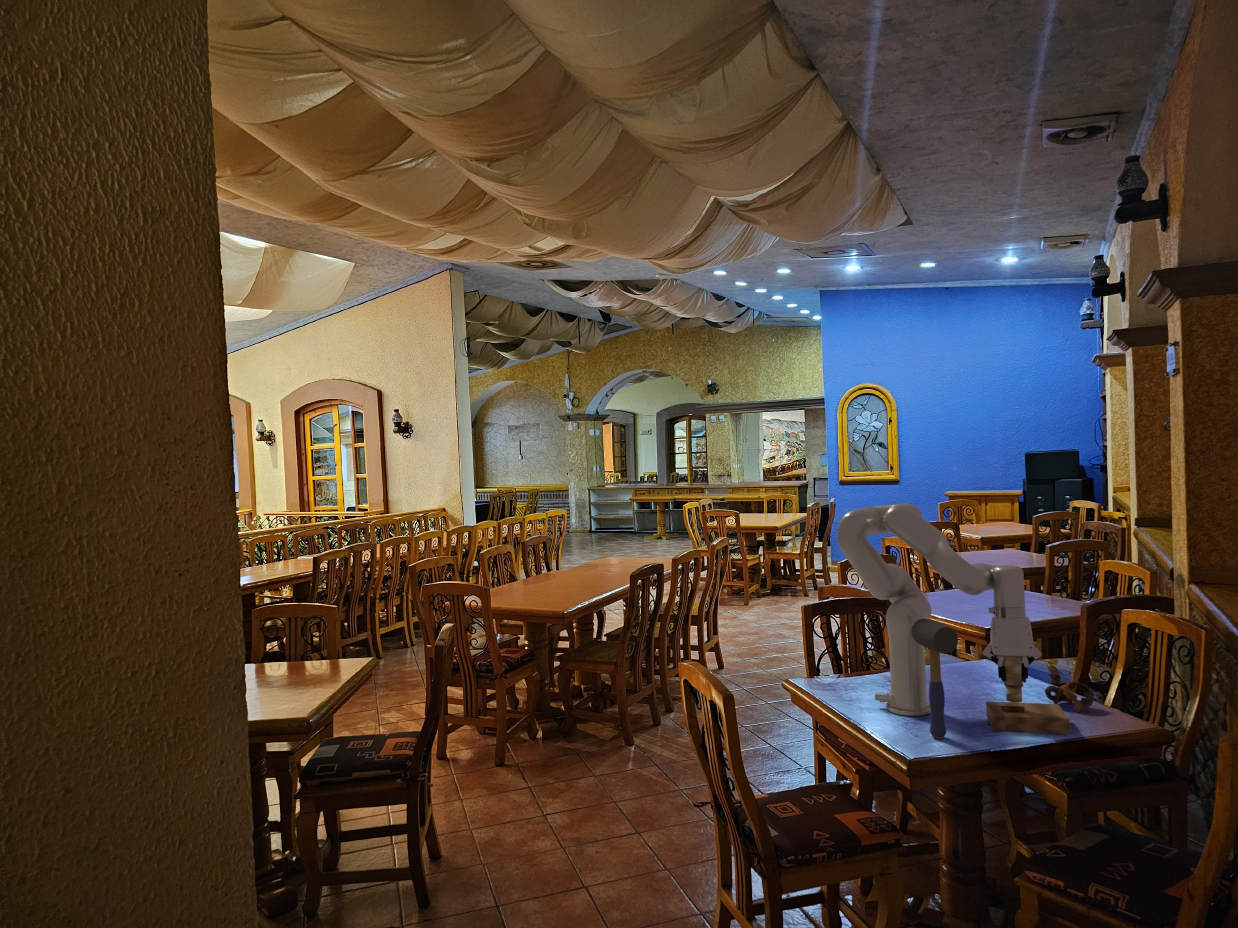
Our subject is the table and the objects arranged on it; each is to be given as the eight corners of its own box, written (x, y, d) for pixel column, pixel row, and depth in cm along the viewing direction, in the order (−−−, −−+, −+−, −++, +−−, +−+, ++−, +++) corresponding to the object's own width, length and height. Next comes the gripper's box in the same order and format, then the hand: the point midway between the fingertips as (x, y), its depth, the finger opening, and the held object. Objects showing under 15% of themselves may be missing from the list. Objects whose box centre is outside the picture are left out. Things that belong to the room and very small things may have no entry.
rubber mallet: (912, 731, 220) (908, 617, 220) (939, 728, 221) (935, 615, 221) (937, 746, 208) (932, 626, 208) (965, 744, 209) (960, 624, 209)
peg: (1006, 702, 221) (1003, 649, 221) (1003, 697, 225) (1001, 645, 225) (1025, 703, 219) (1022, 649, 219) (1022, 698, 224) (1019, 645, 224)
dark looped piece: (1081, 703, 239) (1092, 682, 235) (1089, 727, 231) (1100, 705, 227) (1037, 692, 241) (1047, 671, 237) (1043, 715, 233) (1054, 694, 229)
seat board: (993, 730, 218) (992, 715, 218) (986, 715, 230) (985, 701, 230) (1069, 734, 213) (1069, 718, 213) (1058, 718, 225) (1058, 703, 225)
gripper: (977, 614, 221) (980, 683, 221) (1047, 614, 216) (1051, 685, 216) (973, 609, 228) (977, 676, 228) (1041, 609, 223) (1045, 677, 223)
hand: (1013, 680), depth 222 cm, fingers closed on peg, 4 cm apart
